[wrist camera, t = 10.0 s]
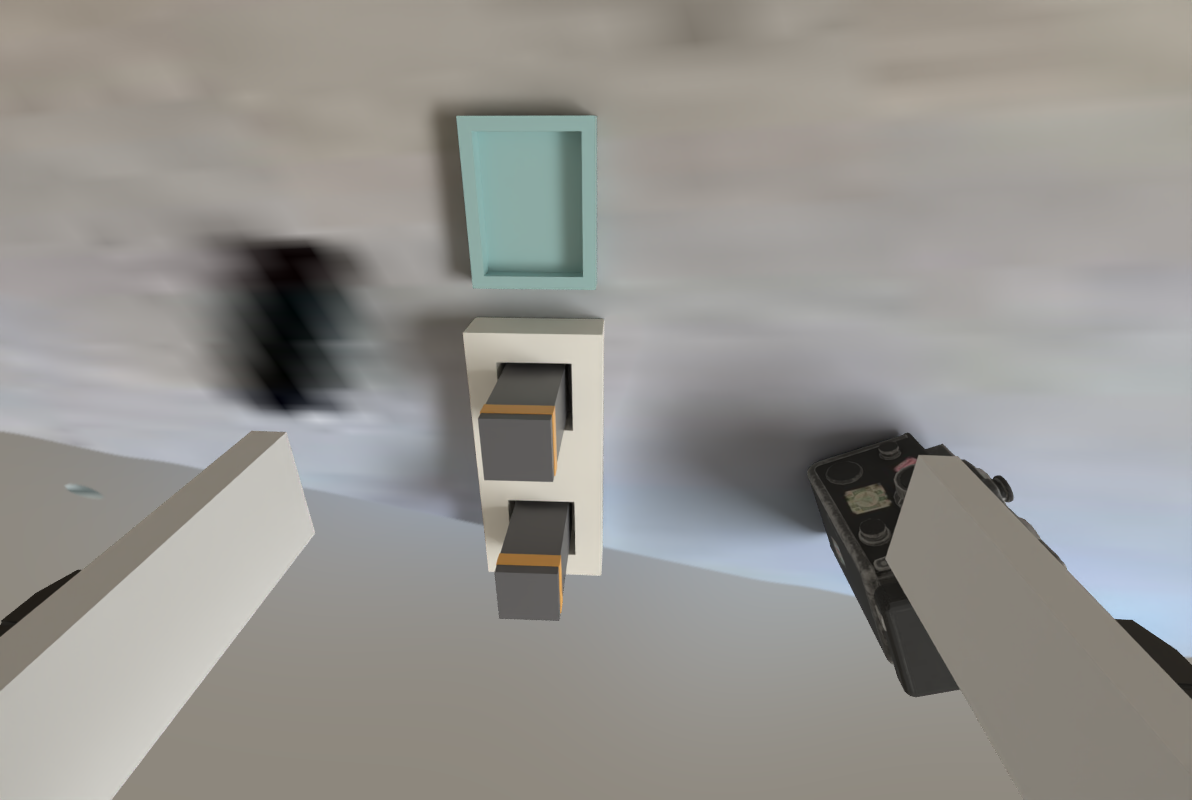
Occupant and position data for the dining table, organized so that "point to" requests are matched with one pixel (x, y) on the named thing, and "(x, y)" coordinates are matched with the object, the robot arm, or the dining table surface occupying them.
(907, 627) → the camera
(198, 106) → the dining table surface
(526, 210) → the tray
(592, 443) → the battery charger
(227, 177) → the dining table surface
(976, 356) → the dining table surface
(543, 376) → the plug
